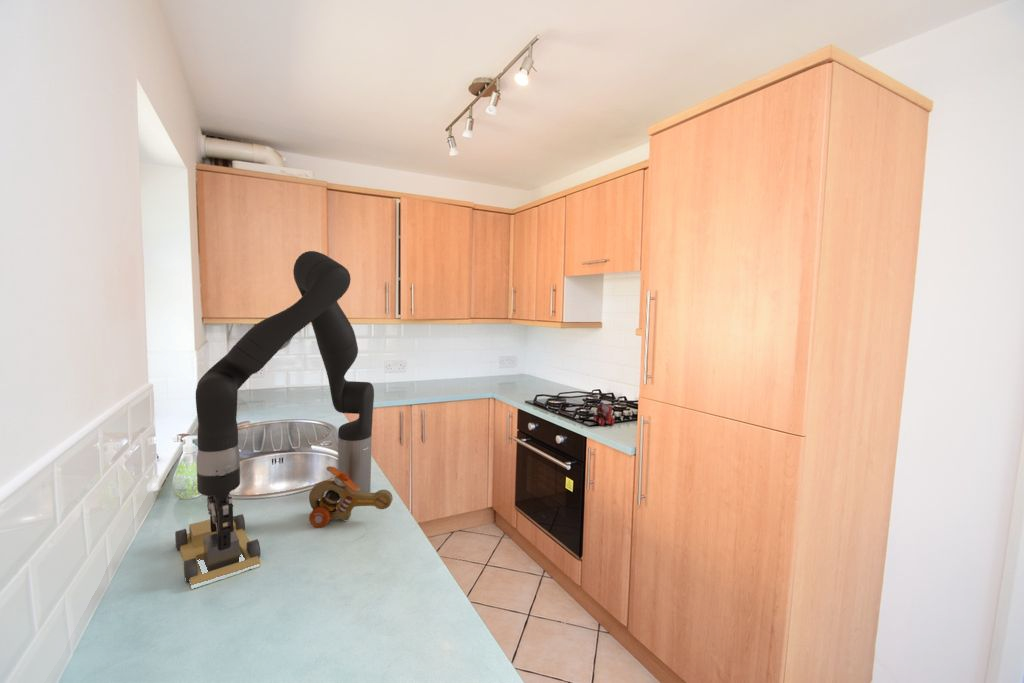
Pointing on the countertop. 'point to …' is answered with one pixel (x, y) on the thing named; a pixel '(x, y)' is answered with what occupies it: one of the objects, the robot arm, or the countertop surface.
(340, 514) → the toy helicopter
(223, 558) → the block
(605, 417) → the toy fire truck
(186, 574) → the chassis
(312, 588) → the countertop surface
